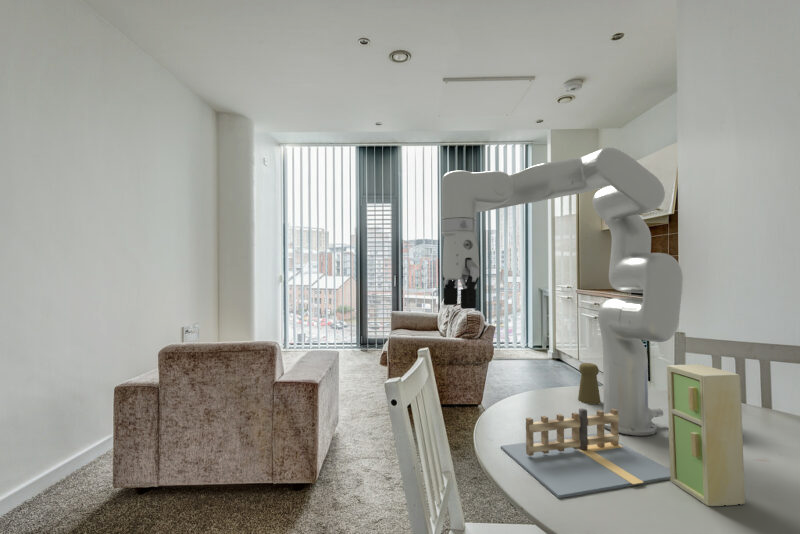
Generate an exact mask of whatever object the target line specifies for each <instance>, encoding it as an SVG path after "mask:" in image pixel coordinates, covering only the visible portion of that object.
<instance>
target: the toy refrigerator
mask: <svg viewBox="0 0 800 534" xmlns="http://www.w3.org/2000/svg"><path fill="white" fill-rule="evenodd" d="M666 380H667V382H666V383H667V404H668V405H667V407H668V408H667V410H668V442H669V443H668V445H669V469H670V477H671V479H670V482H671V483H673V484H674V485H676V486H677V487H679V488H681V489H682V490H683V491H685V492H686V493H688V494H689V495H691V496H692V497H694V498H695V499H697V500H698V501H700V502H701V503H703V504H704V505H706V506H707V507H721V506H722V507H723V506H724V505H726V506H738V504H740V505H745V504H746V494H745V493H746V491H745V487H746V486H745V467H744V466H745V465H744V464H745V463H744V440H743V439H744V438H743V437H744V435H743V415H742V413H743V412H742V411H743V409H742V388H741V387H742V386H741V384H742V381H741V376H740V374H738V373H735V372H731V371H728V370H723V369H720V368H715V367H711V366H707V365H705V364H698V363H697V364H696V363H694V364H672V365H670V364H669V365H667V366H666Z"/></svg>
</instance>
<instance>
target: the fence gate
mask: <svg viewBox="0 0 800 534" xmlns="http://www.w3.org/2000/svg"><path fill="white" fill-rule="evenodd" d="M579 427H580V419H579V412H571V417H565V415H563V414H561V413H559V414H558V413H557V414H556V419H549V417H548V416H546V415H541V416H540V421H539V420H538V421H534V419H533V418H532V417H526V418H525V443H526V454H527V455H529V456H532V455H534V452H543V453H544V454H546V453H549V450H556V449H557V450H558V451H560V452H561V451H564V448H571V447H572V448H574V449H575V450H576V449H579V446H581V440H579ZM566 429H571V437H572V439H565V440H564V438H565V430H566ZM549 431H556V439H557V441H549V440H550V439H549ZM539 432H540V433H541V434H540V435H541V436H540V437H541V438H540V441H541V443H533V442H534V433H539Z"/></svg>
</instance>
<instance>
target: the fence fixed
mask: <svg viewBox="0 0 800 534" xmlns="http://www.w3.org/2000/svg"><path fill="white" fill-rule="evenodd" d="M578 414H579V419H580V427H579V440H581V446H579V449H580V450H583V451H587V450H588V445H593V444H597V446H598V447H600V448H604V447H605V443H608V442H611V444H612V445H614V446H618V442H620V434H619V433H618V422H619V415H618V410H616V409H611V413H608V414H604V410H596V414H592V415H590V414H589V415H588V410H587V409H586V408H579V409H578ZM608 423H611V430H610V433H605V427H604V424H608ZM591 426H596V434H597V435H596V436H588V437H587V435H588V427H591Z"/></svg>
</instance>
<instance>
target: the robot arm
mask: <svg viewBox="0 0 800 534" xmlns="http://www.w3.org/2000/svg"><path fill="white" fill-rule="evenodd" d="M595 190H597V191H596V192H595V194H594V195H593V197H592V207H593V210H594V211H595V213H596V215H598V217H600V219H601V220H603V221H604V223H605V224H606V226H607V227H608V230H609V232H610V236H611V251H610V259H609V268H608V269H609V270H608V281H609V284H610V286H611V288H613V289H614V290H615V291H618V292H624V293H633V294H642V298H636V297H635V298H634V297H621V296H620V297H613V298H609V299H607V300H605V301H604V302H602V304H601V305H600V306H599V308H598V311H597V312H598V313H597V321H598V326H599V330H600V331H599V332H600V334H601V341H602V342H601V344H602V360H603V361H602V369H603V372H602V374H603V375H602V376H603V378H602V379H603V383H602V384H603V412H604V414H608V413H611V409H616V410H618V415H619V422H618V434H623V435H629V436H637V437H639V436H641V437H644V436H651V435H654V434H655V433H656V432H657V425H656V424H655V422H653V420H652V419H654V418H659V417H663V416H664V411H663V409H661V408H657V407H656V408H650V407H649V383H648V382H649V374H648V373H649V372H648V371H649V370H648V369H649V368H648V365H649V363H648V362H649V361H648V358H649V357H648V353H647V350H646V347H645V344H644V342H643V341H648V342H654V343H663V342H667V341H669V340H671V339H672V338H673V337H674V335H676V332H677V330H678V327H679V321H680V314H681V313H680V312H681V301H682V294H683V293H682V292H683V290H682V289H683V281H684V280H683V271H682V268H681V265H680V263H679V262H678V260H676V258H675V257H673V256H672V255H670V254H669V253H665V252H651V251H652V233H651V231H650V228H649V225H647V223H646V222H645V221H644V219H643V218H642V217H641V216H640V215H641V214H647V213H651V212H653V211H655V210H657V209H658V208H659V207H660V206H661V205H662V204H663V202H664V200H665V196H666V195H665V194H666V191H665V187H664V185H663V183H662V182H661V181H660V179H659V178H658V177H657V176H656V175H654V174H653V173H652V172H651V171H649V169H647V168H646V167H645V166H643V165H642V164H640V163H639V162H638V161H637V160H635V158H633V157H631V156H630V155H629V154H627V153H625V152H624V151H622V150H620V149H617V148H616V147H615V148H614V147H603V148H600V149H599V150H598V149H597V150H596V151H593V152H591V153H589V154H587V155H586V154H585V155H584V156H580V157H575V158H568V159H564V160H562V159H561V160H555V161H551V162H544V163H539V164H535V165H532V166H530V167H528V168H525V169H523V170H521V171H517V172H514V173H513V174H508V173H506V172H505V171H504V172H503V171H501V170H500V171H499V170H490V171H489V170H488V171H478V172H472V171H469V170H452V171H448V172H446V173H445V174H443V176H442V178H441V236H442V237H444V238H443V250H442V251H443V252H442V270H441V271H442V281H443V283H442V284H443V285H442V286H443V287H442V288H443V305H445V306H457V305H458V287H456V286H457V284H458V281H459V282H460V284H461V288H460V308H461V309H462V310H465V309H467V310H468V309H476V308H477V288H478V284H477V283H478V281H479V277H480V259H479V258H480V256H479V254H480V253H479V244H478V238H477V213H482V212H487V211H493V210H498V209H499V210H500V209H504V208H507V207H508V208H510V207H514V206H518V205H526V204H532V203H537V202H541V201H547V200H553V199H558V198H561V197H562V198H563V197H566V196H574V195H578V194H584V193H588V192H592V191H595ZM642 340H643V341H642ZM604 429H607V430H609V431H611V423H608V424H604Z"/></svg>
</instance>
